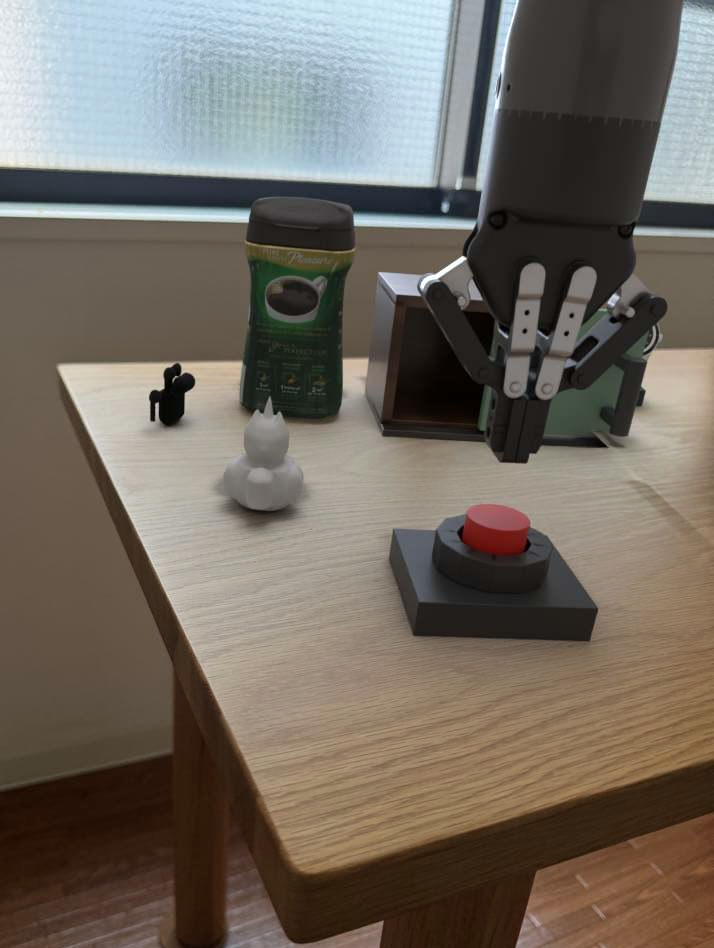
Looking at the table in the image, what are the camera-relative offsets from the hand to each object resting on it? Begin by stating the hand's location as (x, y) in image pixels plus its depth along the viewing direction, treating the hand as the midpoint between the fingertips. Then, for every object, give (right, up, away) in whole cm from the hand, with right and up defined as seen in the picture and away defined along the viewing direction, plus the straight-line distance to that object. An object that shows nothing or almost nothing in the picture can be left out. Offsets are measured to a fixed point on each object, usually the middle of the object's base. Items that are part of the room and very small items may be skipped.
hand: (509, 457), depth 47 cm
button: (0, -5, +2) cm, 5 cm away
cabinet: (+6, +7, +35) cm, 36 cm away
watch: (+20, +8, +41) cm, 46 cm away
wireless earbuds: (-23, +5, +27) cm, 36 cm away
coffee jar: (-13, +8, +33) cm, 36 cm away
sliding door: (+11, +4, +28) cm, 31 cm away
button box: (-1, -8, +4) cm, 9 cm away
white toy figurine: (-14, -3, +12) cm, 19 cm away
